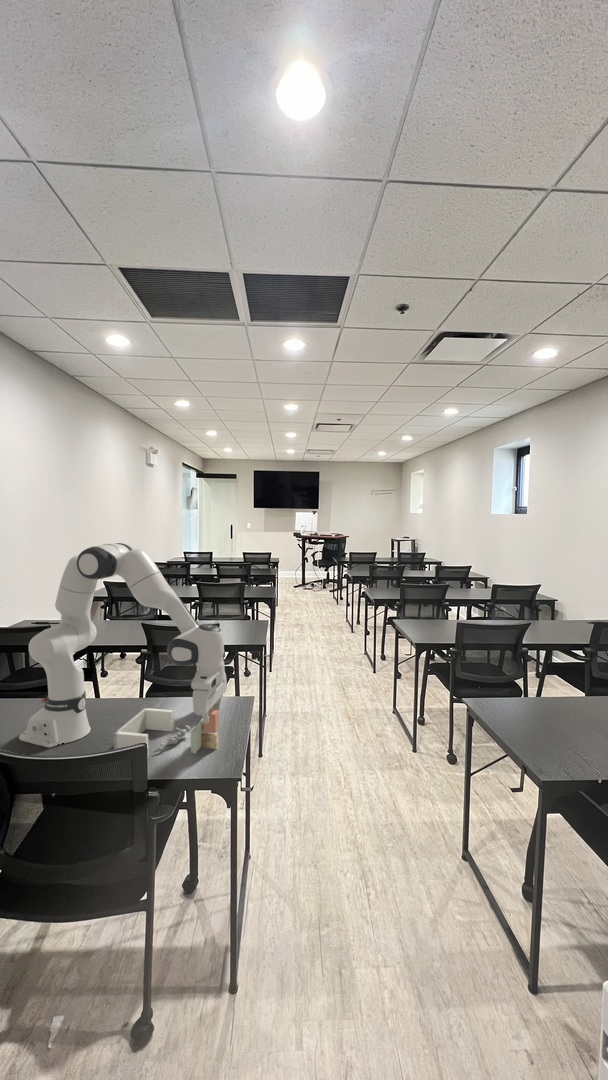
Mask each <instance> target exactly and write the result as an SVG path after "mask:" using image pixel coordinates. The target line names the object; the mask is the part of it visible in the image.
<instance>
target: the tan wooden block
mask: <svg viewBox="0 0 608 1080" xmlns="http://www.w3.org/2000/svg"><path fill="white" fill-rule="evenodd" d="M218 748H219V733H218V732H216V733H202V734H201V747H200V748H199V749H208V750H209V749H210V750H217V749H218Z"/></svg>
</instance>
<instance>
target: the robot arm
mask: <svg viewBox="0 0 608 1080" xmlns="http://www.w3.org/2000/svg"><path fill="white" fill-rule="evenodd" d="M115 576H120V577H121V578H122V579H123V580H124V582H125V583H126V585H127V587H128V589H129V591H130V592H131V594H132V596H133V598H134V599H136V601H137V602H138V604H140V605H141V606H144V607H146V608H152V609H158V610H160V611H163V612H165V613H167V615H168V616H169V617H170V619H171V621H172V622H173V623H174V624H175V626H176V627H177V629H178V631H180V634H179V635H178V636H175V637H174V638H173V639H172V640H171V641H170V642H169V643H168V645H167V647H166V653H167V657H168V659H169V661H170V662H171V663H172V664H174V665H176V666H179V667H181V666H182V667H183V666H184V667H185V666H191V665H196V672H195V675H194V677H193V679H192V681H191V682H190V683H191V684H190V687H191V689H192V690H193V692H192V707H193V713H194V714H195V715H197V716H198V715H201V716H202V717H201V719H202V718H203V723H205V724H208V722H209V721H210V716H208V713H209V710H210V709H211V708H212V706H213V705H214V704H215V705H214V710H218V711H220V710H221V705H222V699H223V696H224V694H225V693H226V692H227V690H228V689H227V688H228V684H227V683H228V681H227V674H226V671H225V661H224V654H225V645H224V644H225V641H224V636H223V632H222V629H221V627H219V626H218V625H216V624H211V623H204V624H203V623H201V624H200V623H199V622H198V621H197V620H196V618H195V617H194V616H193V615H192V613H191V611H190V610H189V609H188V607H187V606H186V605H185V602H183V600H182V599H181V598H180V596H179V595H178V594H177V593H176V591H174V590H173V588H172V587H171V586H170V584H169V582H167V580H166V579H165V577H164V576H163V574H162V572H161V570H160V569H159V567H158V566H157V564H156V563H155V562H154V560H153V559H152V558H151V557H150V555H149V554H148V553H147V552H146V551H145V550H143V549H141V548H135V549H133V548H132V547H131V546H129V545H128V544H126V543H122V542H121V543H120V542H116V543H105V544H101V545H95V546H91V547H87V548H86V549H84V550H82V551H81V552H80V553H79V554H78V555H74V556H72V557H71V558H70V559H69V560H68V562H67V564H66V565H65V568H64V571H63V573H62V577H61V580H60V583H59V586H58V587H59V588H58V592H57V595H56V600H55V604H54V607H55V610H56V611H58V612H59V613H60V622H59V623H58V625H55V626H52V627H48V628H46V629H44V630H42V631H40V632H39V633H37V634H36V635H34V636H33V637H32V638H31V639H30V641H29V643H28V653H29V656H30V657H31V659H33V660H34V661H35V662H36V663H39V664H40V665H41V666H42V668H43V670H44V671H45V675H46V680H47V690H48V691H47V694H48V695H46V696H45V698H42V699H41V702H40V703H41V704H43V703H44V705H43V706H42V708H40V709H39V710H38V711H37V712H35V714H33V715H32V716H31V717H30V718H29V720H28V722H27V725H26V729H25V730H24V731H23V732H21V734H20V735H19V736H18V739H19V741H21V742H25V743H29V744H33V745H35V746H36V745H37V746H42V747H44V748H53V747H56V746H58V744H59V745H63V744H62V743H64V744H68V743H72V742H75V741H77V740H79V739H83V738H84V737H85V736H87V735H89V733H90V732H91V726H90V724H89V719H88V715H87V709H86V705H87V693H86V690H85V674H84V670H83V668H82V667H81V666H79V665H77V664H76V663H75V660H74V654H75V653H77V652H79V651H81V650H83V649H86V648H87V647H88V646H89V645H91V644H92V643H93V642H94V641H95V640H96V637H97V634H98V633H97V632H98V630H97V627H96V625H95V623H94V622H93V621H92V618H91V617H92V616H91V611H92V605H93V601H94V600H93V599H94V596H95V592H96V589H97V585H98V581H99V580H102V579H107V578H112V577H115Z"/></svg>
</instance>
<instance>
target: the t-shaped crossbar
mask: <svg viewBox="0 0 608 1080" xmlns="http://www.w3.org/2000/svg"><path fill="white" fill-rule="evenodd" d="M219 711H220V710H209V713H208V716H210V721H209V722H208V724H205V723H203V718H202V717H201V719H200V720H199V722H198V723H197V724H196V725H195V726H194V727H193V728H192V729H191V730H190V754H197V753H198V751H199V750H200V749H201V748H200V747H201V734H202V733H217V732H218V730H219V729H220V718H219V717H220V715H219V713H220V712H219Z"/></svg>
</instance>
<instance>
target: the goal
mask: <svg viewBox="0 0 608 1080" xmlns="http://www.w3.org/2000/svg"><path fill="white" fill-rule="evenodd" d="M174 713H175V711H174V710H173V709H160V708H149V707H148V708H147V707H144V708H143V709H142V710H141V711H139V712H138V713H137V714H136V715H134V716H133V717H132V718H131V719H129V721H127V722H126V723H125V724H124V725H122V726H121V727H120V728H119V729H118V730H116V731H115V732H114V733H113V748H114V749H116V748H121V747H126V746H131V745H135V744H138V743H146V744H147V748H148V757H149V751H150V750H149V749H150V748H149V733H143V732H144V731H146V730H151V731H152V730H153V731H161V730H162V732H173V731H174V730H175V719H174V718H175V715H174ZM114 749H113V750H114Z"/></svg>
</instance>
